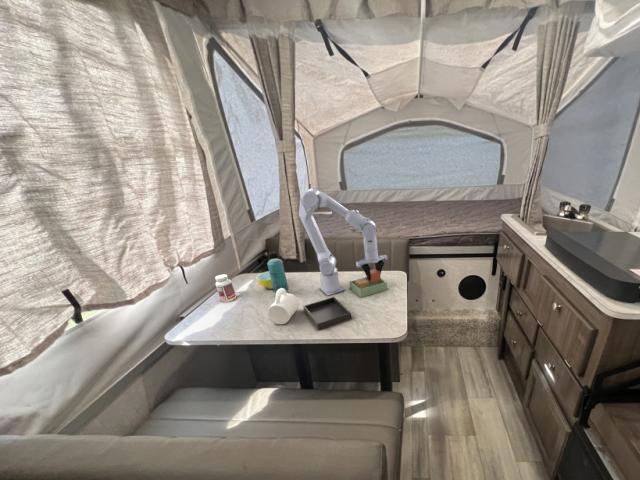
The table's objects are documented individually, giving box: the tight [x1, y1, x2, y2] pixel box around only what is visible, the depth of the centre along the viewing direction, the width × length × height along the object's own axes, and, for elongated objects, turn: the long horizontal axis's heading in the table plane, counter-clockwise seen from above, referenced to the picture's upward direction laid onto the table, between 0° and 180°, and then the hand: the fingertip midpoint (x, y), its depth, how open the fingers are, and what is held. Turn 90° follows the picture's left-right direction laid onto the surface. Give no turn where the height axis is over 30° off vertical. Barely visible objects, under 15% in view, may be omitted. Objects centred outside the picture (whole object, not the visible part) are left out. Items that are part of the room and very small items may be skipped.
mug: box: [266, 288, 300, 325], centre depth 119 cm, size 8×10×12 cm
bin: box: [349, 276, 388, 298], centre depth 141 cm, size 11×13×4 cm
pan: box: [302, 296, 352, 331], centre depth 122 cm, size 17×13×2 cm
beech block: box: [355, 277, 369, 289], centre depth 139 cm, size 4×4×4 cm
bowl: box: [255, 270, 274, 290], centre depth 147 cm, size 11×12×6 cm
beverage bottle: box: [266, 251, 290, 295], centre depth 136 cm, size 6×7×20 cm
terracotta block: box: [368, 268, 382, 283], centre depth 140 cm, size 4×4×4 cm
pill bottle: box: [214, 273, 237, 303], centre depth 137 cm, size 6×6×11 cm
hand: (373, 278), depth 141 cm, fingers closed on terracotta block, 4 cm apart
